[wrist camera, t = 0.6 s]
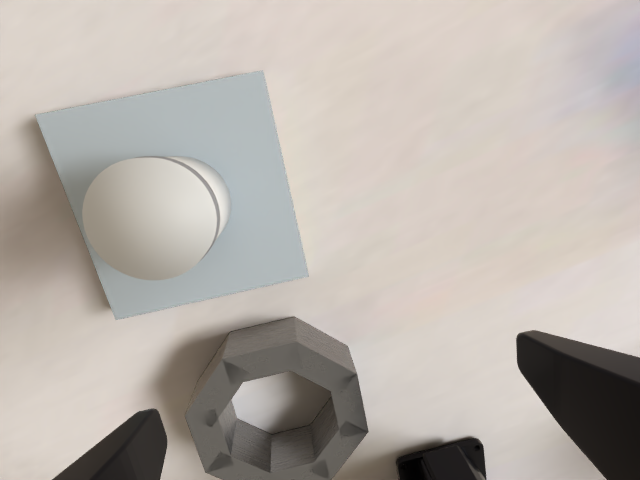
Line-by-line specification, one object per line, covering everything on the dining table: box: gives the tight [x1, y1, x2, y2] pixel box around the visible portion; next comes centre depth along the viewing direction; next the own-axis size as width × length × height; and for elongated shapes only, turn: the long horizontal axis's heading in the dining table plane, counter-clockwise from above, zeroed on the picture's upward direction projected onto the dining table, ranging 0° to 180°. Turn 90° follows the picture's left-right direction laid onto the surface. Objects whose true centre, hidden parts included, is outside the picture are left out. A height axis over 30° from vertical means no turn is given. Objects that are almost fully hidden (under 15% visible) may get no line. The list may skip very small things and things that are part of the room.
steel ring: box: [185, 317, 368, 480], centre depth 22 cm, size 10×10×3 cm
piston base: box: [35, 70, 309, 320], centre depth 17 cm, size 11×11×6 cm
